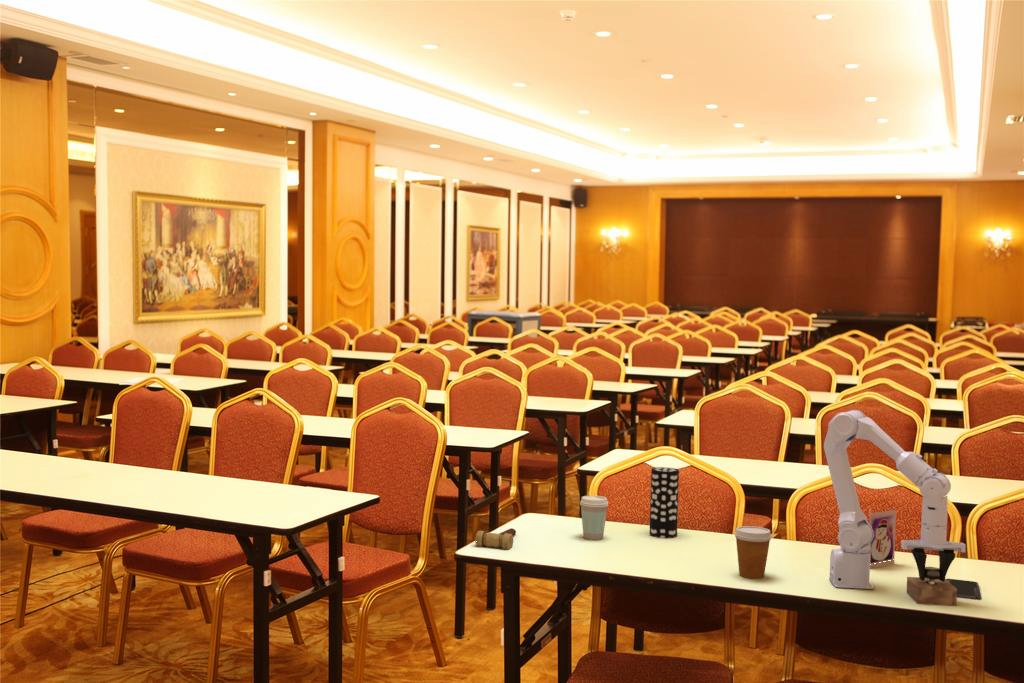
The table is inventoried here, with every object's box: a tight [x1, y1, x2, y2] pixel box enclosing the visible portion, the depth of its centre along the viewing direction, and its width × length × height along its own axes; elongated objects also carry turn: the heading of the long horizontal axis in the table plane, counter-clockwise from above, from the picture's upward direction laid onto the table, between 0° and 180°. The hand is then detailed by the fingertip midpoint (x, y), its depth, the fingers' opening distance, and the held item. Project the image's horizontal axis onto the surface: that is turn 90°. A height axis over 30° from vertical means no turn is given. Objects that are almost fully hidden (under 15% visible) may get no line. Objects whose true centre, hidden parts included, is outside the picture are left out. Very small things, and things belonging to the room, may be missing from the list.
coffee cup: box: [579, 494, 609, 541], centre depth 301 cm, size 8×8×12 cm
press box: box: [906, 576, 958, 606], centre depth 245 cm, size 9×9×4 cm
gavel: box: [474, 528, 517, 551], centre depth 295 cm, size 21×5×10 cm
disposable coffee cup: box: [733, 525, 773, 579], centre depth 263 cm, size 10×10×12 cm
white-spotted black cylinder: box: [649, 466, 680, 539], centre depth 307 cm, size 8×8×20 cm
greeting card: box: [868, 509, 897, 569], centre depth 278 cm, size 11×7×15 cm, turn 123°
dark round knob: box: [925, 566, 941, 584], centre depth 245 cm, size 4×4×7 cm
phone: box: [945, 578, 982, 601], centre depth 254 cm, size 8×1×15 cm
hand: (931, 579), depth 245 cm, fingers closed on dark round knob, 4 cm apart
